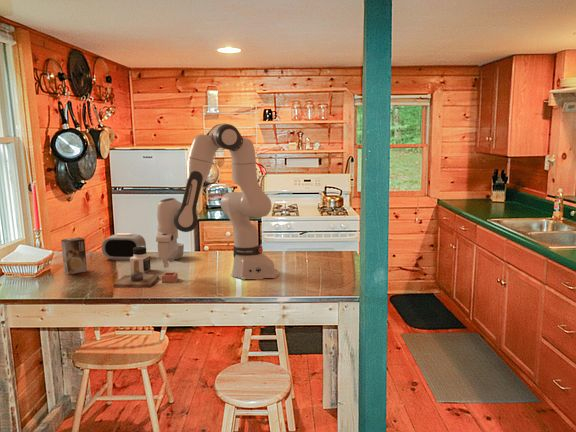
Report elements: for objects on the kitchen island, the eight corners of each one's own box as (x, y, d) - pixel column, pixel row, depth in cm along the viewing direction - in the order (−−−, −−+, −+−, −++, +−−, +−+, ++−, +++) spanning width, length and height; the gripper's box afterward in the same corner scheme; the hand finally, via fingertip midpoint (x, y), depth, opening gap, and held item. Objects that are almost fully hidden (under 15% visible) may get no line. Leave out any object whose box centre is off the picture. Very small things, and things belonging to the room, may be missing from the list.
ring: (177, 278, 231) (177, 272, 231) (174, 282, 225) (174, 275, 225) (165, 278, 231) (164, 272, 231) (161, 282, 225) (161, 275, 225)
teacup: (162, 257, 272) (162, 242, 271) (183, 255, 275) (182, 241, 274) (164, 263, 259) (164, 248, 257) (186, 261, 262) (185, 246, 261)
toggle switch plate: (158, 277, 232) (158, 256, 231) (150, 287, 218) (149, 264, 217) (124, 277, 232) (123, 256, 231) (113, 286, 219) (112, 264, 217)
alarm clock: (101, 260, 264) (100, 235, 262) (108, 256, 273) (107, 232, 271) (140, 261, 263) (139, 236, 261) (146, 256, 273) (145, 232, 270)
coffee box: (83, 268, 248) (80, 236, 245) (87, 271, 243) (85, 239, 240) (63, 272, 242) (61, 239, 239) (67, 274, 237) (65, 241, 235)
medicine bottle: (144, 273, 240) (142, 248, 238) (130, 272, 241) (129, 248, 240) (150, 269, 247) (149, 245, 245) (137, 268, 248) (136, 244, 246)
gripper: (166, 230, 235) (167, 259, 237) (154, 238, 215) (155, 270, 217) (180, 230, 235) (180, 259, 237) (169, 238, 215) (170, 270, 217)
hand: (168, 264), depth 227 cm, fingers open, 8 cm apart
